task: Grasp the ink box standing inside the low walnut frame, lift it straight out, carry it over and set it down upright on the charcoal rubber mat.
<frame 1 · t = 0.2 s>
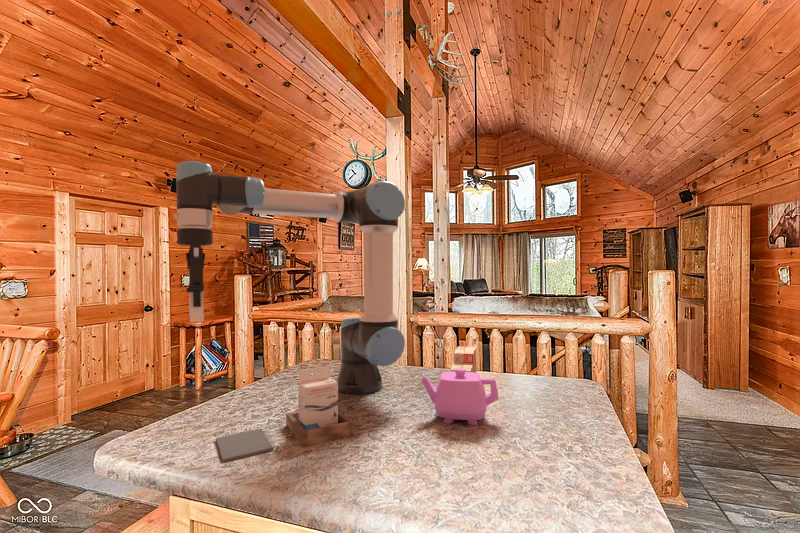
hand: (196, 318, 94), 28 cm above the countertop, fingers open, 13 cm apart
teapot: (459, 418, 104), on the countertop
rubber mat: (243, 445, 88), on the countertop
stack of blocks: (464, 391, 126), on the countertop
walnut frame: (318, 430, 96), on the countertop
ink box: (318, 431, 96), resting in walnut frame
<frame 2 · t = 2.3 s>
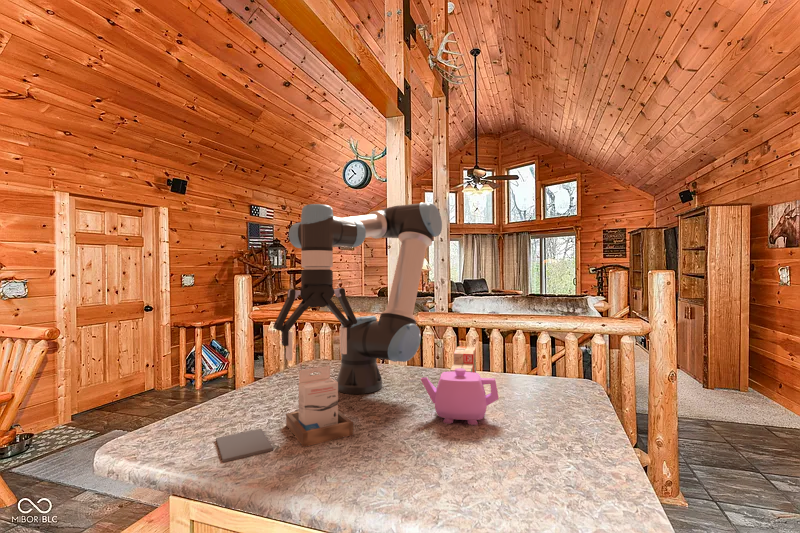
hand: (317, 356, 96), 18 cm above the countertop, fingers open, 13 cm apart
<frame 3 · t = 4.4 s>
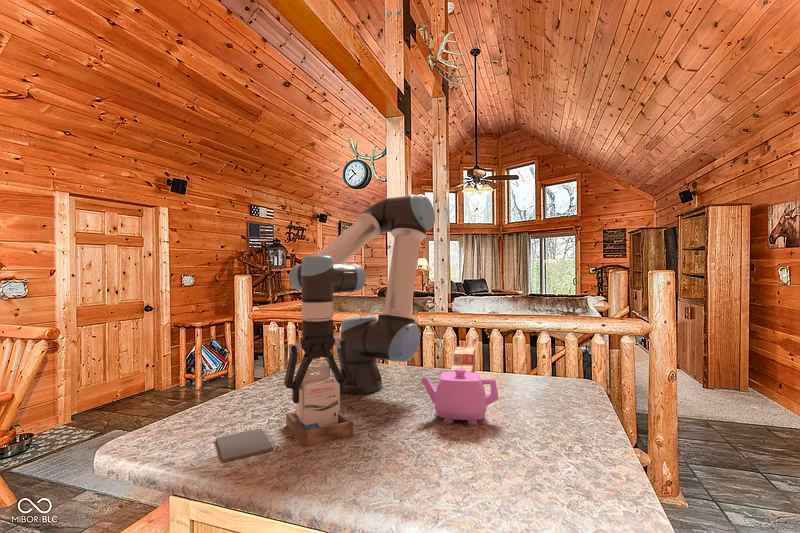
hand: (318, 412, 96), 4 cm above the countertop, fingers closed on ink box, 9 cm apart
ink box: (318, 430, 96), resting in walnut frame, touching gripper
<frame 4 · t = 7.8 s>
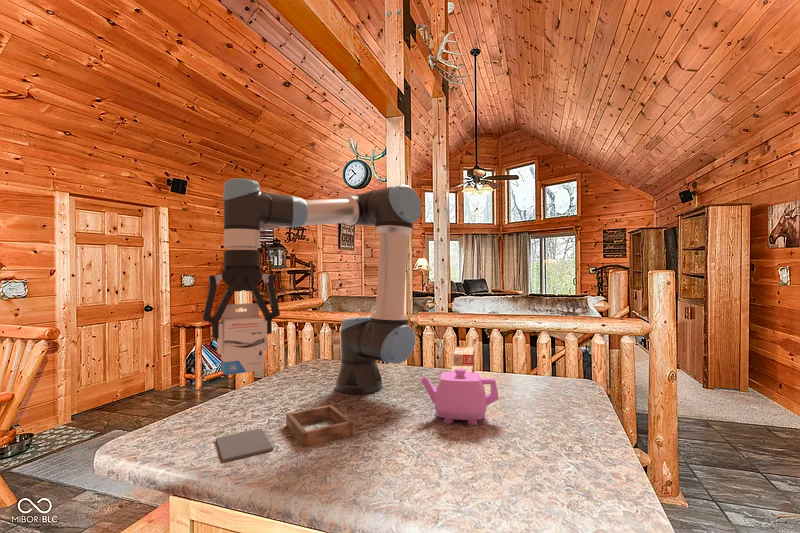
hand: (242, 350, 88), 21 cm above the countertop, fingers closed on ink box, 8 cm apart
ink box: (243, 371, 88), point 17 cm above the countertop, touching gripper
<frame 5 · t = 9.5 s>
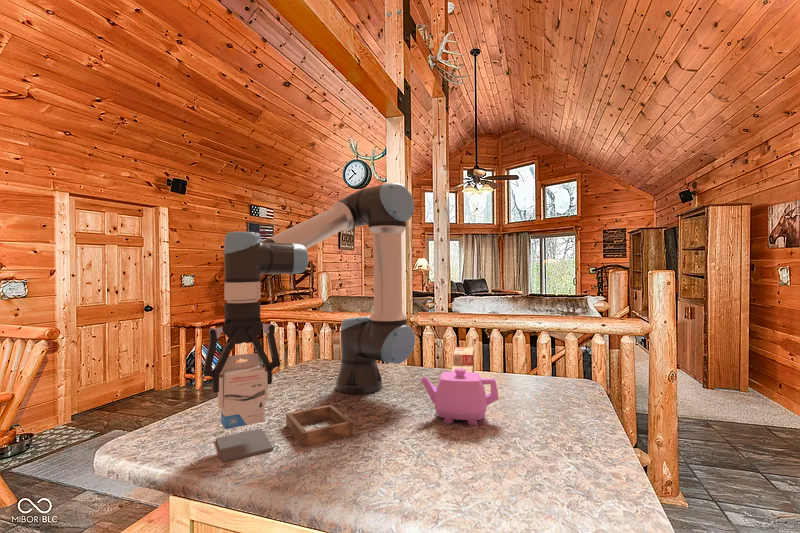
hand: (243, 402, 88), 10 cm above the countertop, fingers closed on ink box, 8 cm apart
ink box: (243, 423, 88), point 5 cm above the countertop, touching gripper
when the fingers open (6 cm above the countertop, at t = 11.2 s): ink box drops 1 cm, resting on rubber mat.
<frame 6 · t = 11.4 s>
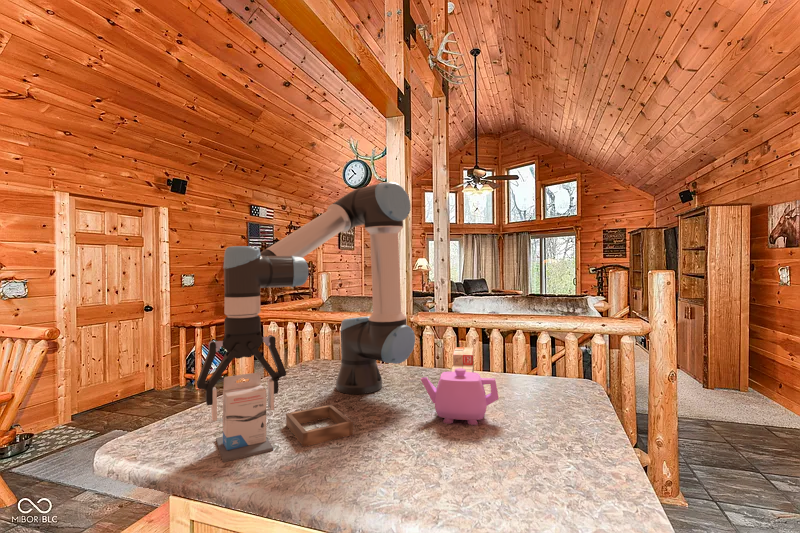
hand: (243, 413, 88), 7 cm above the countertop, fingers open, 11 cm apart
ink box: (245, 443, 89), resting on rubber mat
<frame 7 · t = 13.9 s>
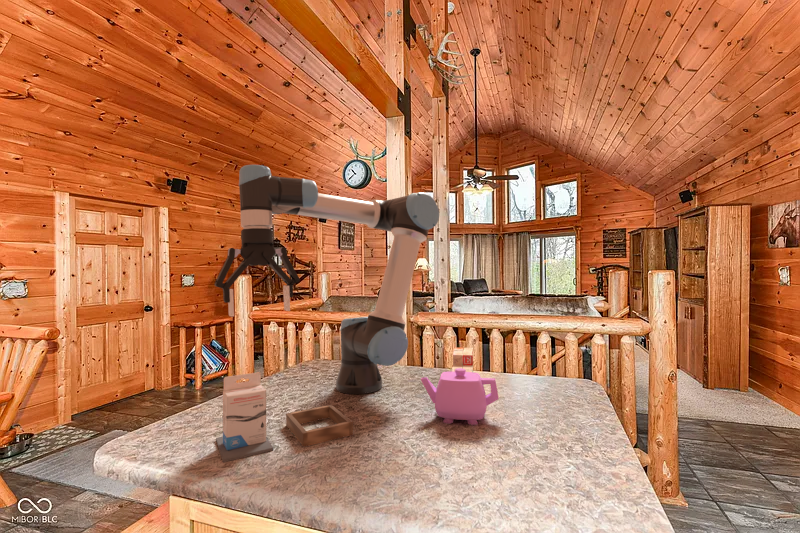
hand: (260, 313, 100), 28 cm above the countertop, fingers open, 13 cm apart
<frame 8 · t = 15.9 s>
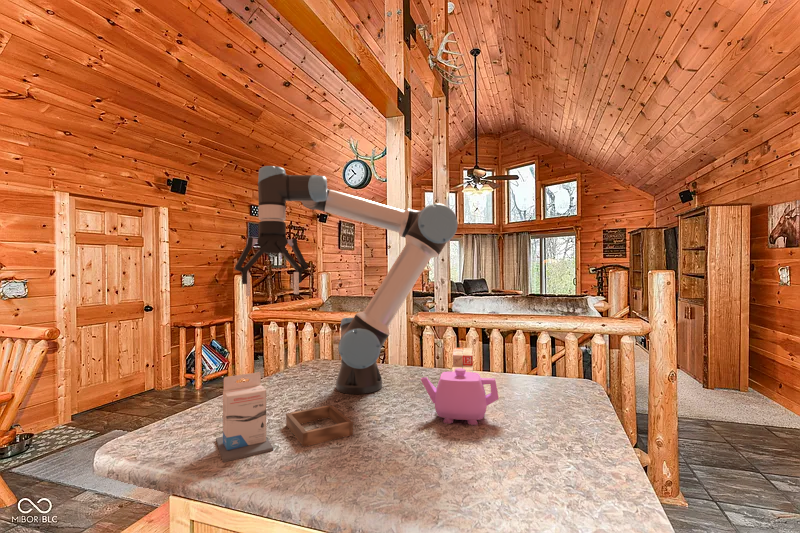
hand: (272, 295, 114), 32 cm above the countertop, fingers open, 13 cm apart
at the end: ink box inside the target area on the rubber mat (0.2 cm from its centre), point 0.4 cm above the rubber mat's base; ink box tilted 0°; the gripper is holding nothing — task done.
